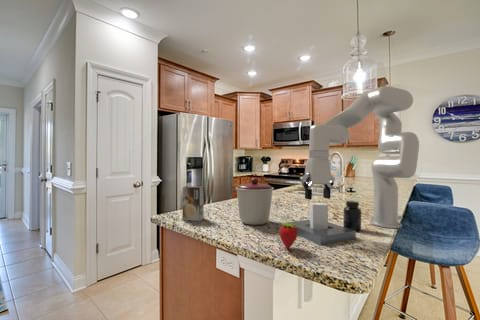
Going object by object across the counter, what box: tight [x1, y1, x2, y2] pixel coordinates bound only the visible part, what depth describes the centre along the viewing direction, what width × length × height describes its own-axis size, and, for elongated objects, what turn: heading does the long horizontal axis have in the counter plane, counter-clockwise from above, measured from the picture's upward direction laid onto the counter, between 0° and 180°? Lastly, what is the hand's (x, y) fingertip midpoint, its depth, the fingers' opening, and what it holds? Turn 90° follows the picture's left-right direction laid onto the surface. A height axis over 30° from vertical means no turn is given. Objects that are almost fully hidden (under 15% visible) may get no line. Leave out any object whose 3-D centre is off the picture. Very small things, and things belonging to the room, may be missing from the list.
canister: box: [235, 177, 275, 226], centre depth 110 cm, size 18×18×21 cm
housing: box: [286, 219, 357, 246], centre depth 93 cm, size 18×20×3 cm
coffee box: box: [182, 185, 205, 222], centre depth 115 cm, size 9×6×16 cm
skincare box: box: [309, 202, 329, 230], centre depth 93 cm, size 6×4×12 cm
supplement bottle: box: [342, 200, 362, 232], centre depth 100 cm, size 7×7×12 cm
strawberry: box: [278, 219, 298, 250], centre depth 77 cm, size 6×8×10 cm
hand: (317, 198), depth 93 cm, fingers open, 9 cm apart
